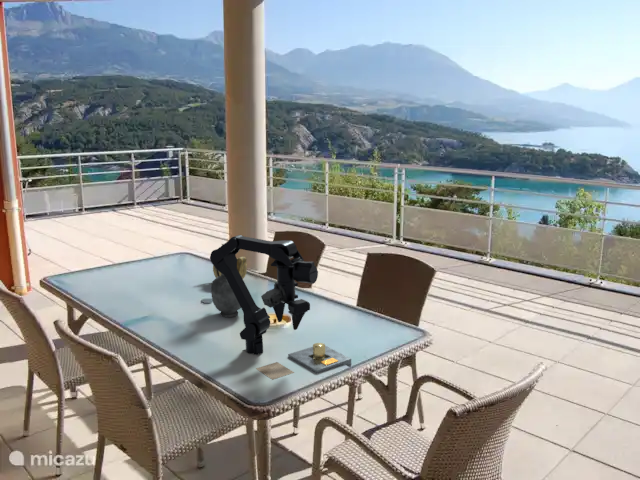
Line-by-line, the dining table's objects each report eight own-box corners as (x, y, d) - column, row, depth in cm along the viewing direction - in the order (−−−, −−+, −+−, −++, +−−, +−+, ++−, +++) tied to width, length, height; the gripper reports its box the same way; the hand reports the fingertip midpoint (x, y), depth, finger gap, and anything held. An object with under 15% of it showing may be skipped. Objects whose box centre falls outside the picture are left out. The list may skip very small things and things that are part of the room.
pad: (255, 371, 173) (255, 368, 173) (277, 364, 178) (277, 361, 178) (272, 382, 166) (272, 379, 165) (294, 375, 170) (294, 372, 170)
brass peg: (310, 361, 180) (310, 344, 179) (320, 358, 182) (320, 341, 181) (318, 365, 177) (317, 348, 176) (327, 362, 179) (327, 345, 178)
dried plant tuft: (203, 282, 275) (201, 253, 272) (229, 275, 288) (227, 247, 285) (232, 290, 261) (231, 260, 258) (258, 282, 274) (257, 253, 271)
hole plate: (288, 359, 182) (288, 353, 181) (321, 349, 190) (321, 343, 190) (316, 376, 169) (316, 369, 169) (351, 364, 177) (351, 358, 177)
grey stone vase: (225, 322, 218) (221, 249, 212) (206, 309, 233) (202, 241, 227) (249, 316, 224) (246, 245, 218) (229, 305, 239) (226, 238, 233)
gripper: (249, 278, 179) (251, 323, 182) (280, 291, 164) (282, 339, 167) (278, 272, 185) (280, 316, 189) (310, 284, 171) (311, 331, 174)
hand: (287, 325), depth 179 cm, fingers open, 9 cm apart
